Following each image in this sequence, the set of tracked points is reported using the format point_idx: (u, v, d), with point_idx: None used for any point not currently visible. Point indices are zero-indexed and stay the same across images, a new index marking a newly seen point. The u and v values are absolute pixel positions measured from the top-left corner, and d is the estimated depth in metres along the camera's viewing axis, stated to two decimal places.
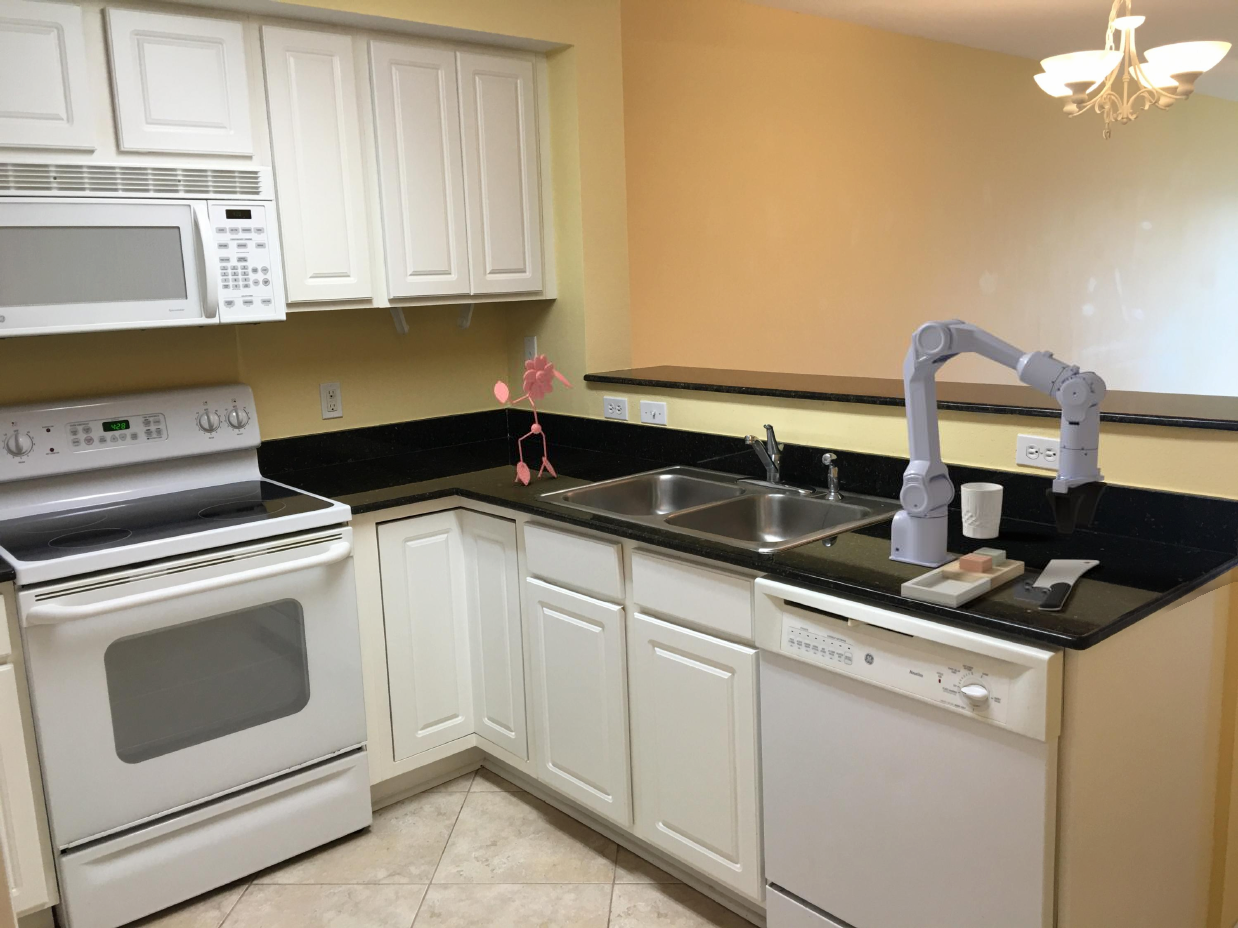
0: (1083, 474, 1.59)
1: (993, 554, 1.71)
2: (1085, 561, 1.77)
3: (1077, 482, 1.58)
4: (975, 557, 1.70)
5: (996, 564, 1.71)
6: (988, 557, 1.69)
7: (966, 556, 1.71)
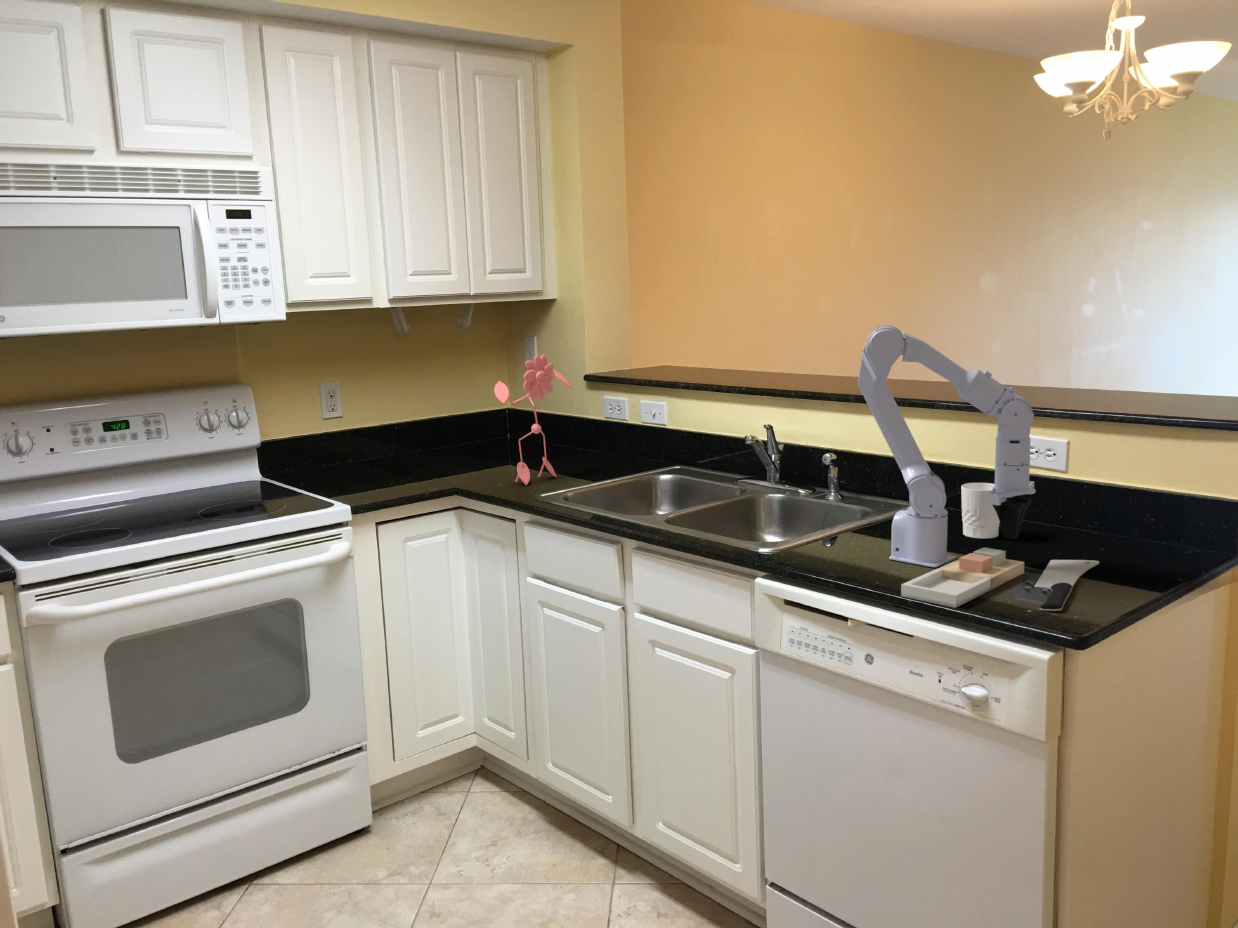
0: (1016, 488, 1.74)
1: (993, 554, 1.71)
2: (1085, 561, 1.77)
3: (1010, 495, 1.73)
4: (975, 557, 1.70)
5: (996, 564, 1.71)
6: (988, 557, 1.69)
7: (966, 556, 1.71)
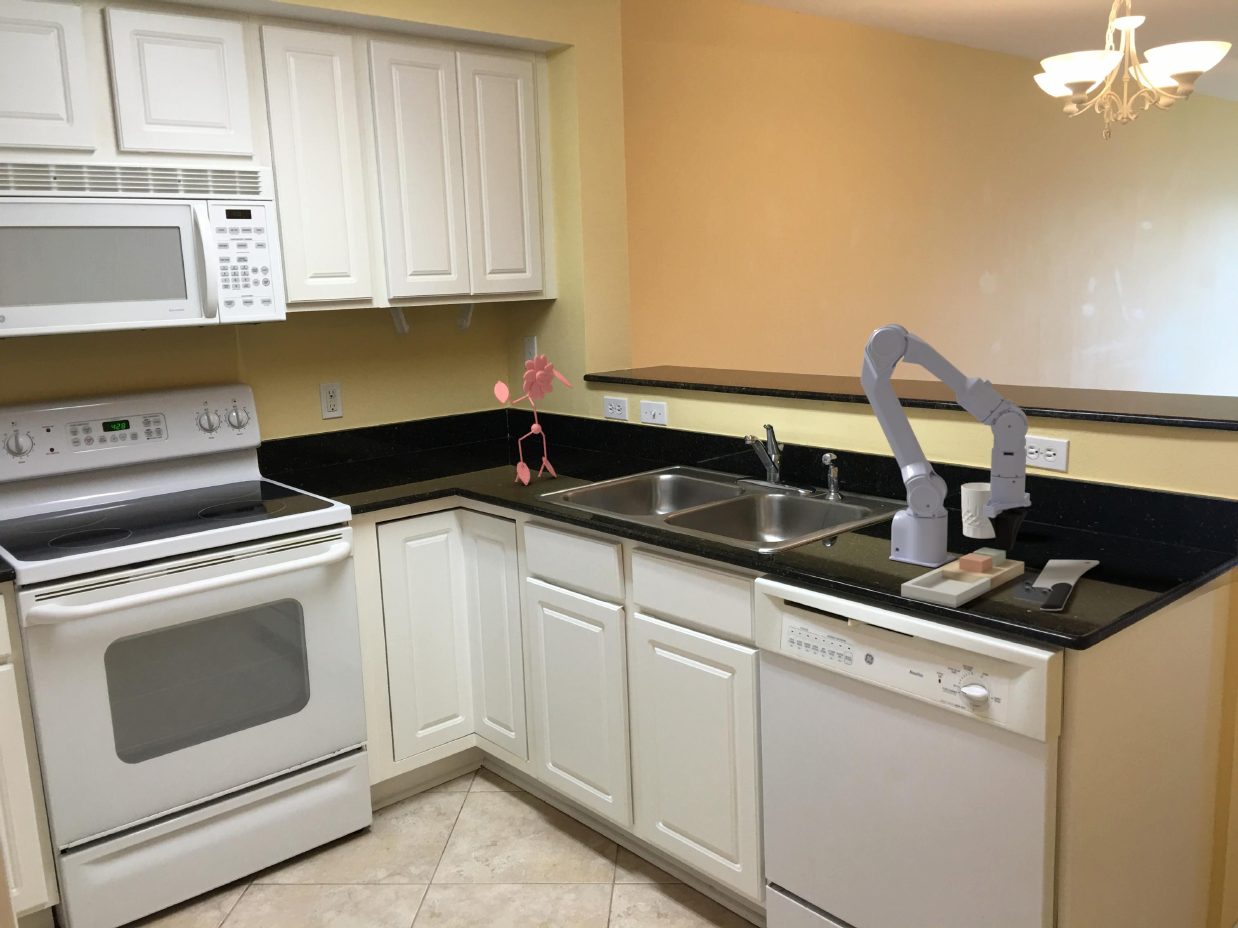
0: (1011, 500, 1.73)
1: (993, 554, 1.71)
2: (1085, 561, 1.77)
3: (1005, 507, 1.72)
4: (975, 557, 1.70)
5: (996, 564, 1.71)
6: (988, 557, 1.69)
7: (966, 556, 1.71)
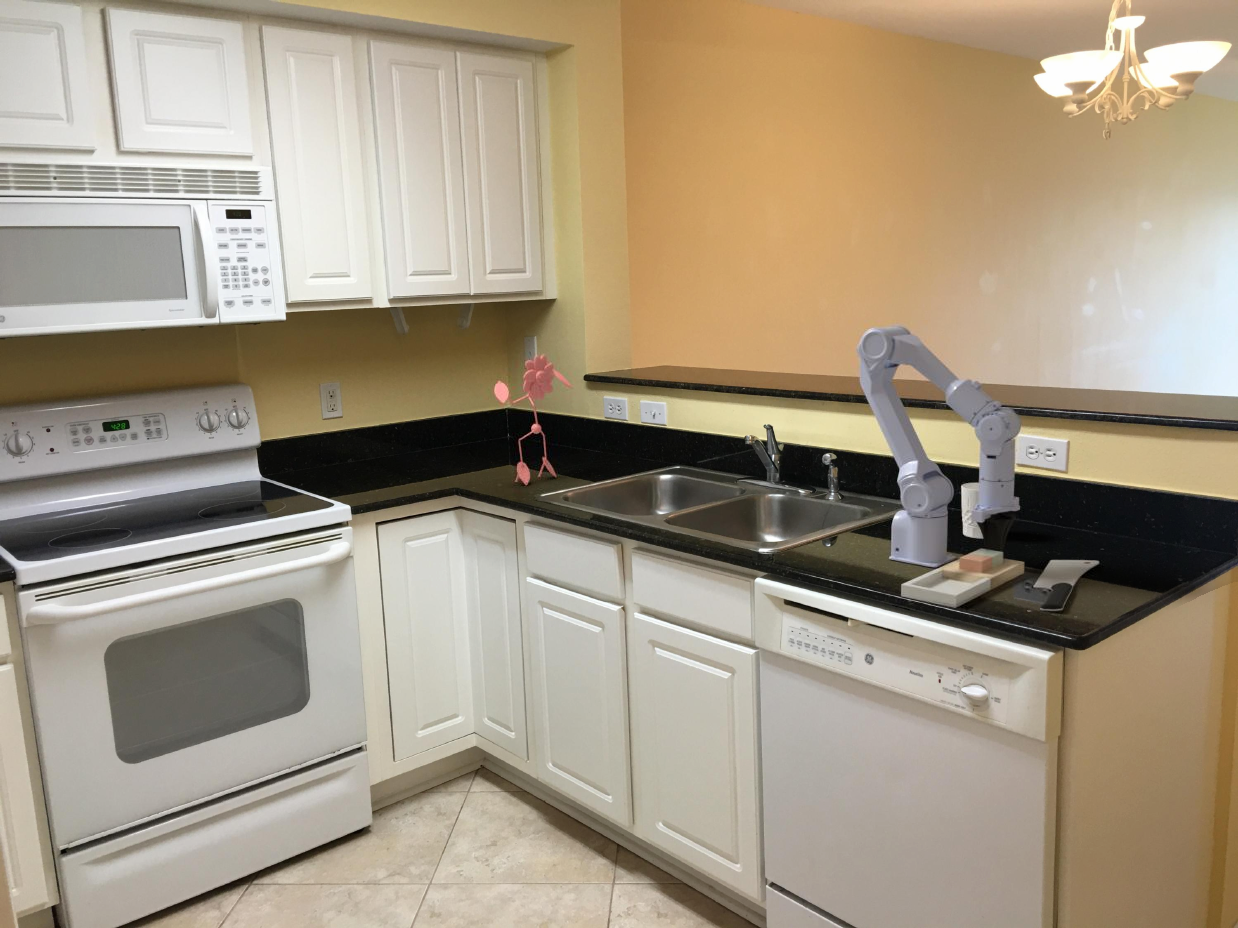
0: (1000, 504, 1.70)
1: (990, 555, 1.71)
2: (1085, 561, 1.77)
3: (994, 512, 1.69)
4: (975, 557, 1.70)
5: (993, 565, 1.70)
6: (988, 557, 1.69)
7: (966, 556, 1.71)
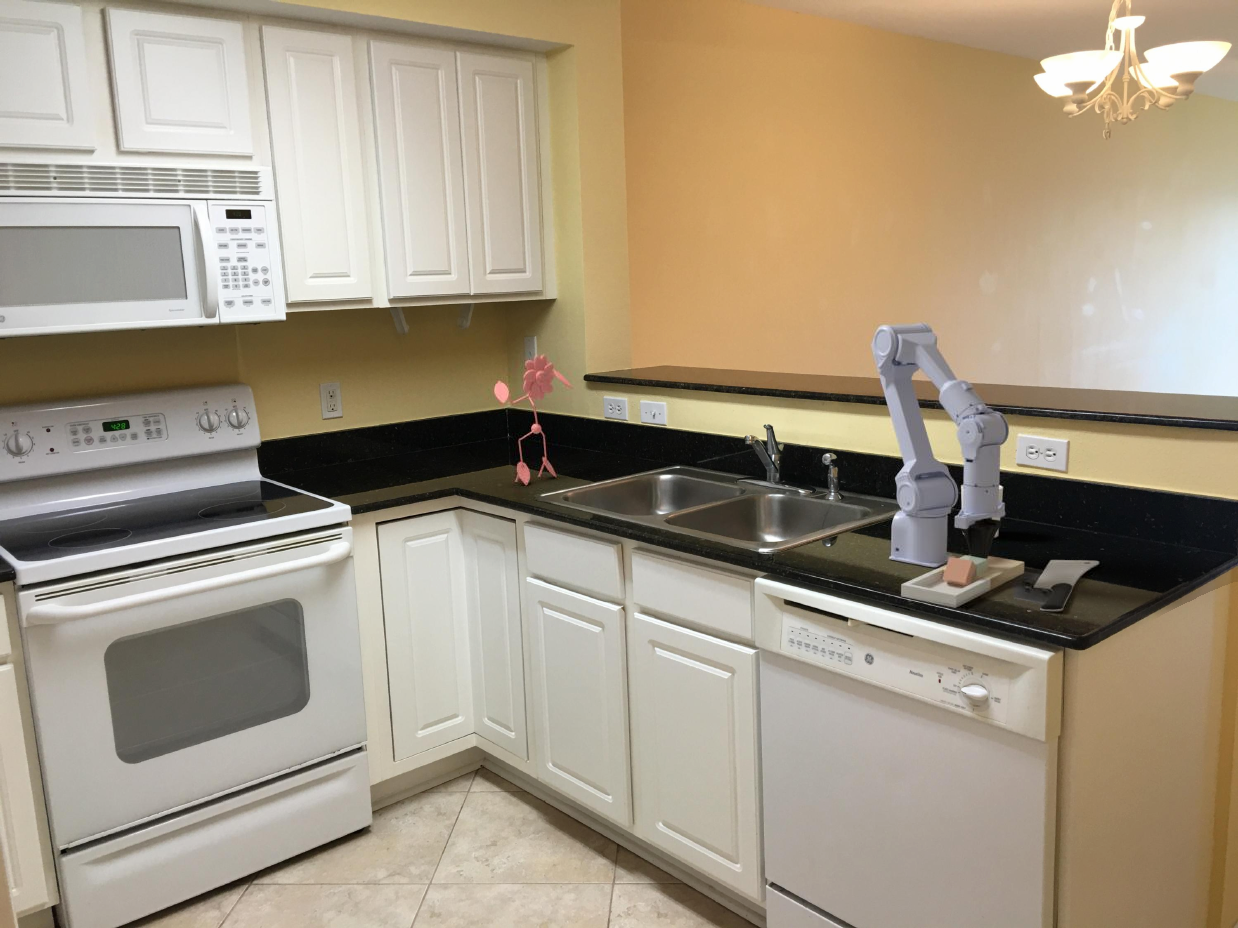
0: (984, 510, 1.66)
1: (975, 562, 1.66)
2: (1085, 561, 1.77)
3: (978, 518, 1.65)
4: (956, 570, 1.65)
5: (978, 573, 1.66)
6: (968, 564, 1.64)
7: (947, 570, 1.66)
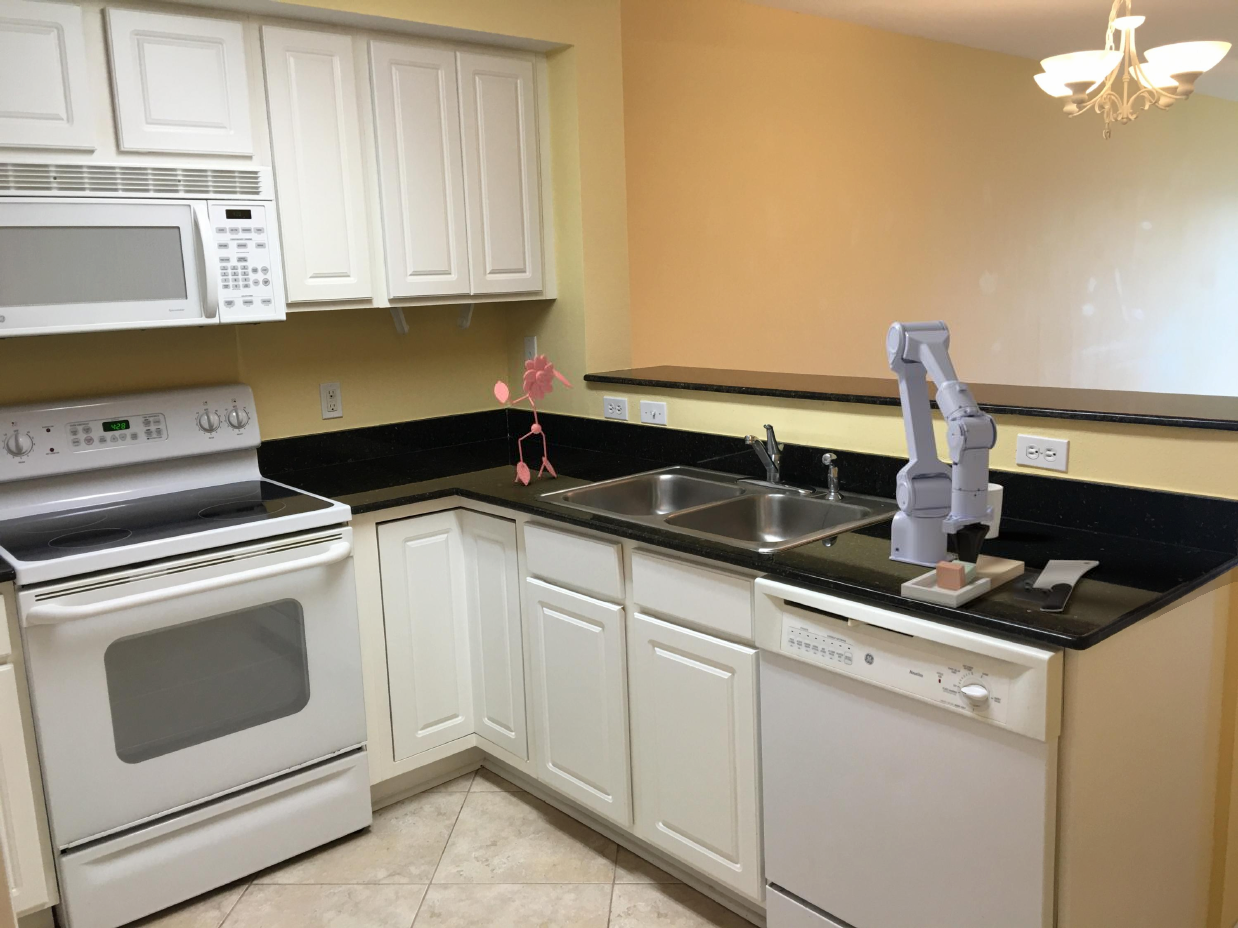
0: (973, 514, 1.63)
1: None
2: (1085, 562, 1.77)
3: (966, 523, 1.62)
4: (947, 579, 1.63)
5: (967, 581, 1.64)
6: (956, 573, 1.62)
7: (939, 579, 1.65)
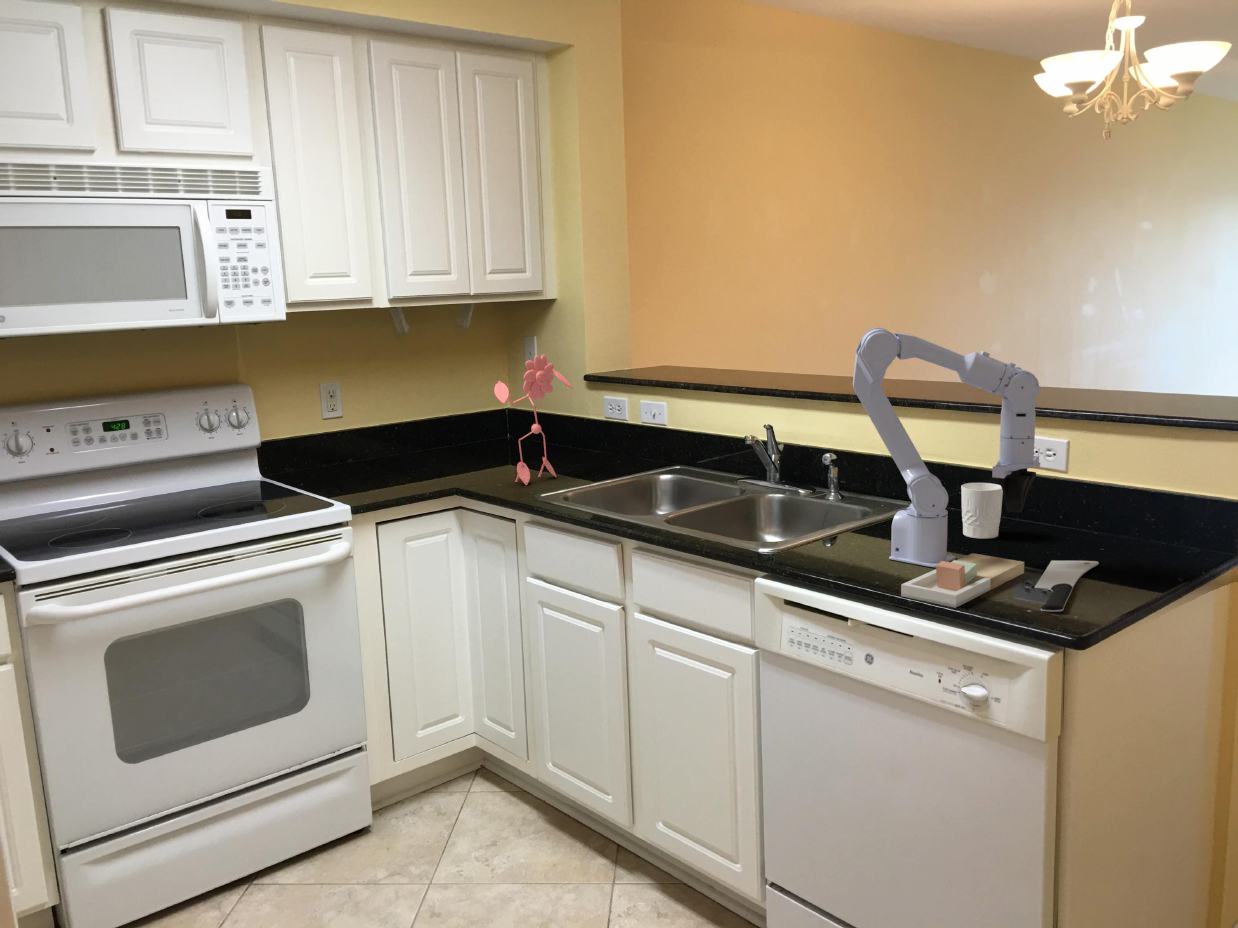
0: (1020, 461, 1.74)
1: None
2: (1084, 562, 1.77)
3: (1014, 468, 1.73)
4: (947, 579, 1.63)
5: (967, 581, 1.64)
6: (956, 573, 1.62)
7: (939, 579, 1.65)
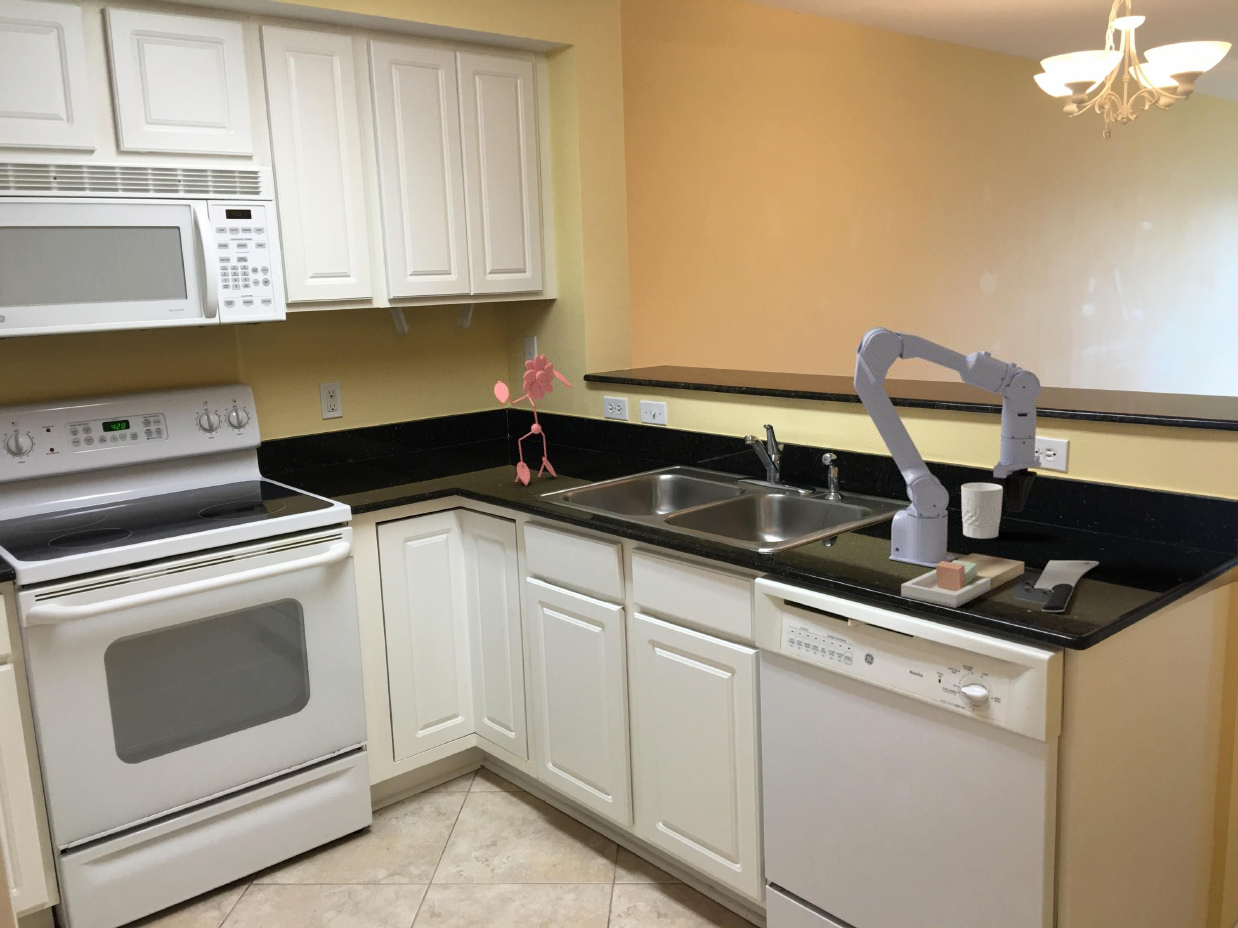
0: (1021, 461, 1.75)
1: None
2: (1084, 562, 1.76)
3: (1015, 468, 1.74)
4: (947, 579, 1.63)
5: (967, 581, 1.64)
6: (956, 573, 1.62)
7: (939, 579, 1.65)
